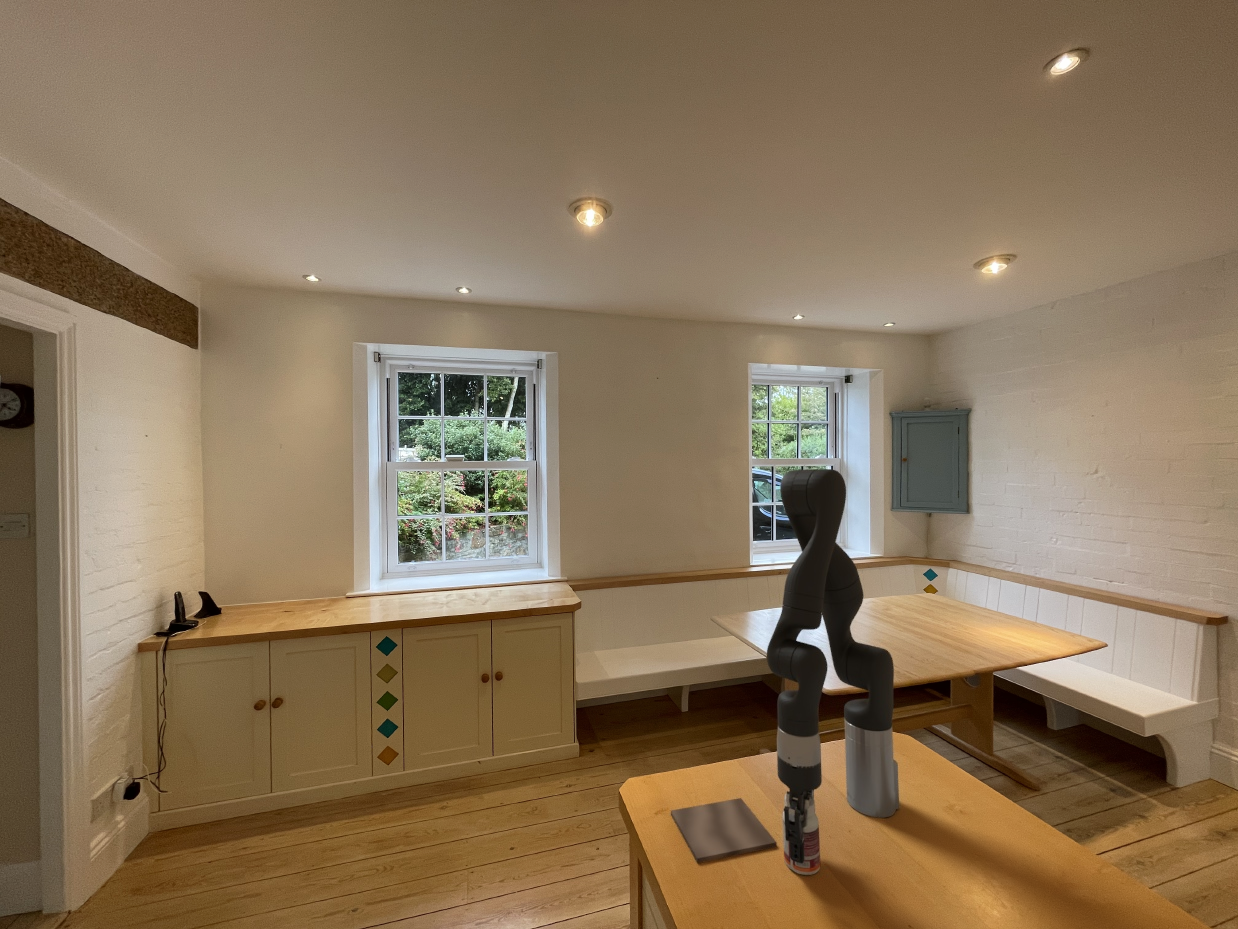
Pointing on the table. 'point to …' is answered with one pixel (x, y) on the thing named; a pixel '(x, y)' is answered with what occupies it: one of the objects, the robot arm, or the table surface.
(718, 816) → the walnut board
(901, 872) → the table surface
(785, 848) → the pill bottle
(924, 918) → the table surface
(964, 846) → the table surface
